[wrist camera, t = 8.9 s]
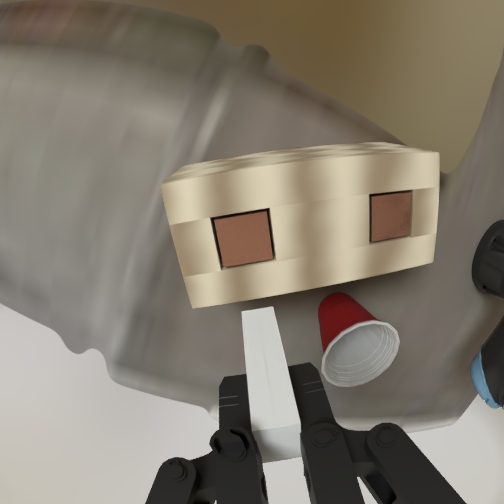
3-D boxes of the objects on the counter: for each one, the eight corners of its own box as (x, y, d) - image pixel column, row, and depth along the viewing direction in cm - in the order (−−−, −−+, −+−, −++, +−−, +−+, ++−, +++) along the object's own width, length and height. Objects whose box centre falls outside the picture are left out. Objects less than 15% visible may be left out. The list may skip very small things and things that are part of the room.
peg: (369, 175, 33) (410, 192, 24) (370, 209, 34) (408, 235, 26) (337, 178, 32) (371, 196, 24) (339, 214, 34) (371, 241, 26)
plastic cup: (363, 266, 41) (402, 312, 30) (368, 320, 45) (399, 369, 34) (294, 289, 41) (315, 344, 31) (308, 341, 46) (327, 396, 35)
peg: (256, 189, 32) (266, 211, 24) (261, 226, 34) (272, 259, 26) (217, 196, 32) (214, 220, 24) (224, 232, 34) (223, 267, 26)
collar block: (383, 142, 34) (439, 152, 23) (385, 226, 39) (432, 262, 28) (182, 166, 33) (160, 185, 22) (201, 256, 38) (192, 308, 27)
